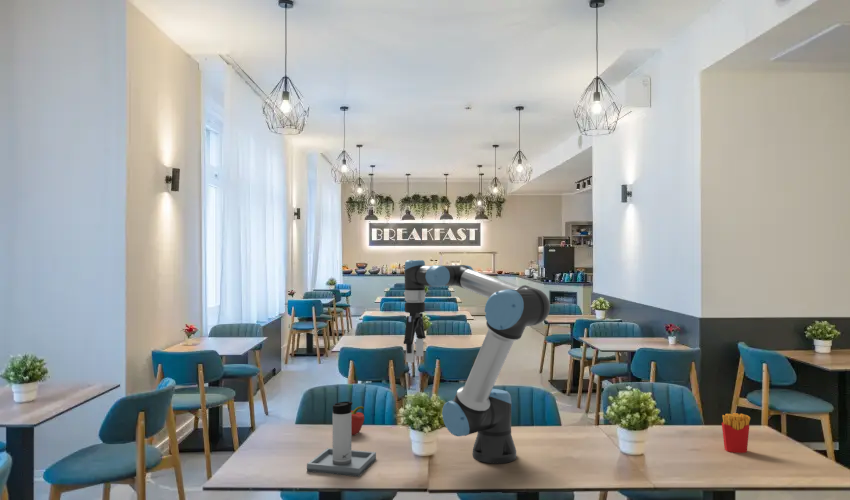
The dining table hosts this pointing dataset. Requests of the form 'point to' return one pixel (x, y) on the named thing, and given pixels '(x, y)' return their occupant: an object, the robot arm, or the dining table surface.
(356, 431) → the vegetable
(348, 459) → the travel mug
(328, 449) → the tray
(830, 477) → the dining table surface
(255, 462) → the dining table surface
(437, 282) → the robot arm
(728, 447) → the french fries
